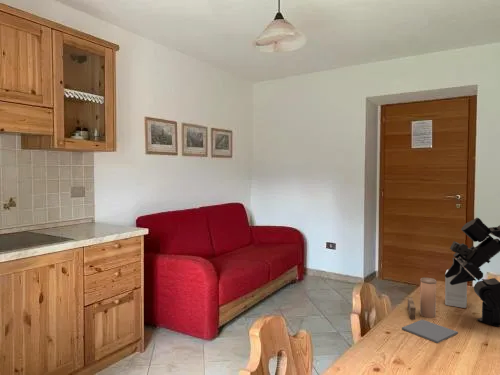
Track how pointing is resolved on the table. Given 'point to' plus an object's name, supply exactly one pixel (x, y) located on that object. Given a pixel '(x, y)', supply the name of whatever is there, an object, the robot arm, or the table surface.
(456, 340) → the table surface
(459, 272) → the robot arm
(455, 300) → the supplement box
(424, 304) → the terracotta jar
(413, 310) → the walnut rail
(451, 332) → the dark grey mat
